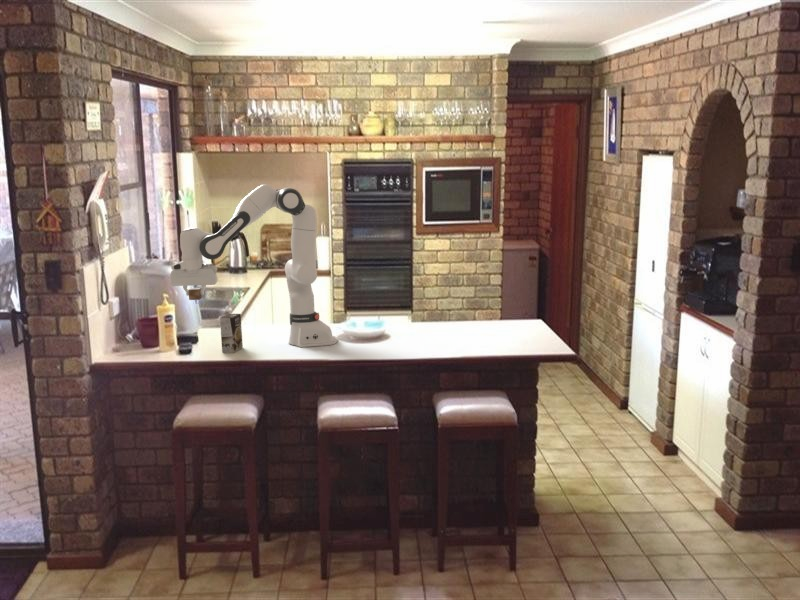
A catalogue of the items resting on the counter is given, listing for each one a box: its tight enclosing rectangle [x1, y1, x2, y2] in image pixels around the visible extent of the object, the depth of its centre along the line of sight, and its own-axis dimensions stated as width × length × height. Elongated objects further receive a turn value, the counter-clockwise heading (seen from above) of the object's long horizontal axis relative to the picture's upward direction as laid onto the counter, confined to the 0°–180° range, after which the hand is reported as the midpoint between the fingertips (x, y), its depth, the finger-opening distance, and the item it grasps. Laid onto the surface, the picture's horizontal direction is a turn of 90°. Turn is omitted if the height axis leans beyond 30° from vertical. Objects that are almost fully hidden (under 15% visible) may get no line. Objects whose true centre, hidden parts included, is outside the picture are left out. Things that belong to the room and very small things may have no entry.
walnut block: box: [188, 287, 203, 301], centre depth 329 cm, size 4×4×4 cm
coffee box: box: [219, 313, 244, 354], centre depth 332 cm, size 9×6×16 cm
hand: (195, 295), depth 329 cm, fingers closed on walnut block, 4 cm apart
